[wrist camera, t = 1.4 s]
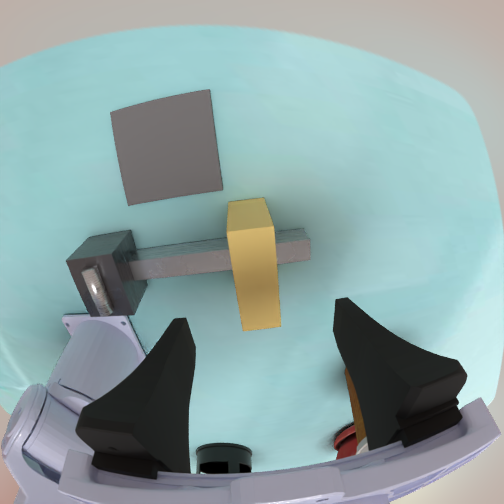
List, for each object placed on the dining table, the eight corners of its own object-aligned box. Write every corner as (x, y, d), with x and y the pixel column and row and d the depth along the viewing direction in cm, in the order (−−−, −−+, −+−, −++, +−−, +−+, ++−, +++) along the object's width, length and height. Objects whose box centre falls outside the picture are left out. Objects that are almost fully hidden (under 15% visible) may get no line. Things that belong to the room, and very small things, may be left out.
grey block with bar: (304, 266, 22) (320, 303, 18) (107, 288, 22) (86, 324, 18) (302, 207, 20) (321, 233, 16) (88, 237, 20) (60, 266, 16)
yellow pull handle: (271, 281, 23) (281, 326, 18) (240, 285, 23) (243, 331, 18) (263, 197, 20) (274, 226, 15) (228, 201, 20) (226, 231, 15)
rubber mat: (223, 188, 19) (222, 190, 19) (129, 204, 19) (128, 205, 19) (209, 89, 16) (209, 89, 16) (112, 112, 16) (110, 112, 16)
